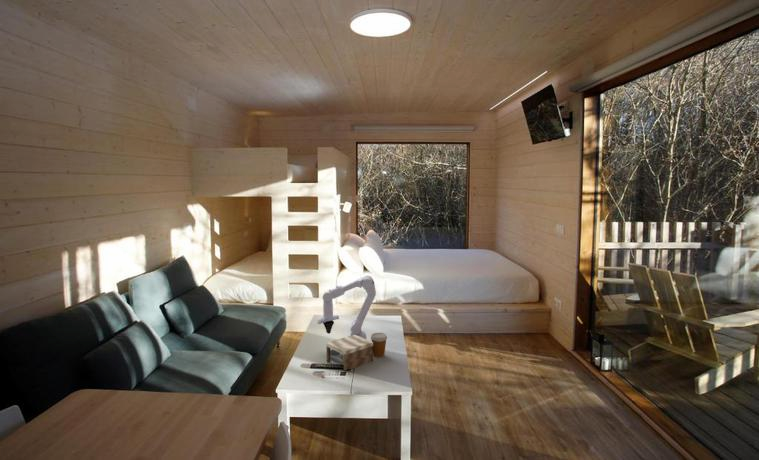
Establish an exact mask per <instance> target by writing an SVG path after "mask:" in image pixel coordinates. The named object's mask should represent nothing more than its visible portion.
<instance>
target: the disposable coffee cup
mask: <svg viewBox="0 0 759 460" xmlns="http://www.w3.org/2000/svg"><path fill="white" fill-rule="evenodd" d="M387 340H388V336H387V334H386V333H383V332H374V333H372V334H371V336H370V341H371V342H373V357H375V358H384V356H385V352H386V345H387Z"/></svg>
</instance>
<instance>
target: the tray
mask: <svg viewBox="0 0 759 460" xmlns="http://www.w3.org/2000/svg"><path fill="white" fill-rule="evenodd" d="M330 360H331V361H334V362H336V363H338V364H340V365H342V364H344V354H342V353H339V352H337V351H335V350H333V349H331V348H330Z"/></svg>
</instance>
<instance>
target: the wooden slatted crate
mask: <svg viewBox="0 0 759 460" xmlns="http://www.w3.org/2000/svg"><path fill="white" fill-rule="evenodd" d="M331 349H333V350H335V351H337V352H339V353H342V354H344V365H343V371H344V370H347V369H350V370H352V368H353V369H355V368H358V367H361V366H363V365H366V364H369V363H372V362H374V355H373V342H372V340H369V339H367V338H366V339H364V338H362V337H359V336H357V335H351V334H350V335H349V336H344V337H343V338H339V339H335V340H332V341H328V342H326V362H327V363H331V361H332V359H330V350H331ZM347 371H348V370H347Z"/></svg>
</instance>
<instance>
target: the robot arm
mask: <svg viewBox="0 0 759 460" xmlns="http://www.w3.org/2000/svg"><path fill="white" fill-rule="evenodd" d="M355 288H360V289H364V290H365V292H366V294H367V295H366V296H365V299H364V302H363V303H362V306H361V307H360V310H359V312H358V314H357V316H356V318H355V320H353V321H352V323H351V326H350V332H349V333H350V336H351V335H357V336H359V337H362V338H364V339H367V334H366V332H365V331H362V326H363V324H364V321H365V319H366V317H367V315H368V312H369V310H370V308H371V306H372V304H373V302H374V300H375V297H376V295H377V291H376V285H375V281H374V279H373V277H372V276H370V275H365V276H364V277H360V278H357V279H355V280H354V281H351V282H349V283H348V284H346V285H343V286H342V285H336V286H335V287H334V288H330V289H328V290H326V291H325V292H324V293H323V295H322V300H323V301H322V302H323V303H322V304H323V305H322V306H323V308H322V309H323V313H322V314H323V316H322V317H323V318H320V319H318V320H317V325H321V324H323V325H324V329H325V332H326V334H328V335H329V334H331V331H332V328H333V326H334V324H335V320H340V317H339V315H334V304H333V299H337V298H340V297H341V296H343V295H345V292H347V291H351V290H352V289H355Z"/></svg>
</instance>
